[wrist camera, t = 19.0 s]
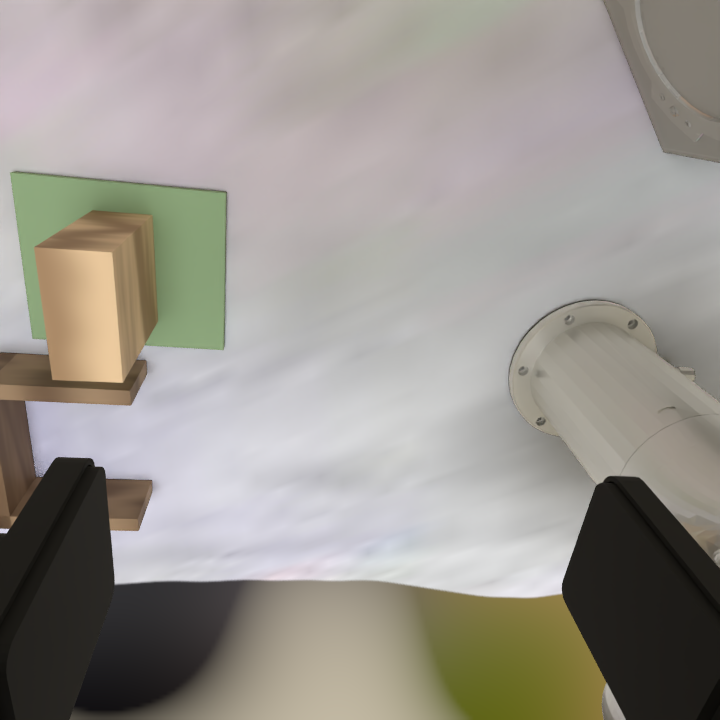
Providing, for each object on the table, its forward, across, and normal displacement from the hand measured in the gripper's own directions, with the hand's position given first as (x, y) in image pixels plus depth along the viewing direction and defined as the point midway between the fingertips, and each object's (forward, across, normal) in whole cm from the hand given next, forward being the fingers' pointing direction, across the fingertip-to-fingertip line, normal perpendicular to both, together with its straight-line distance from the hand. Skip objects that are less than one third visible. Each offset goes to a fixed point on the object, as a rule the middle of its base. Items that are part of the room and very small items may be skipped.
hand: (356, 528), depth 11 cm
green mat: (+34, +13, +6) cm, 37 cm away
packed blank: (+34, +13, +6) cm, 37 cm away
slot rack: (+34, +17, +20) cm, 43 cm away
